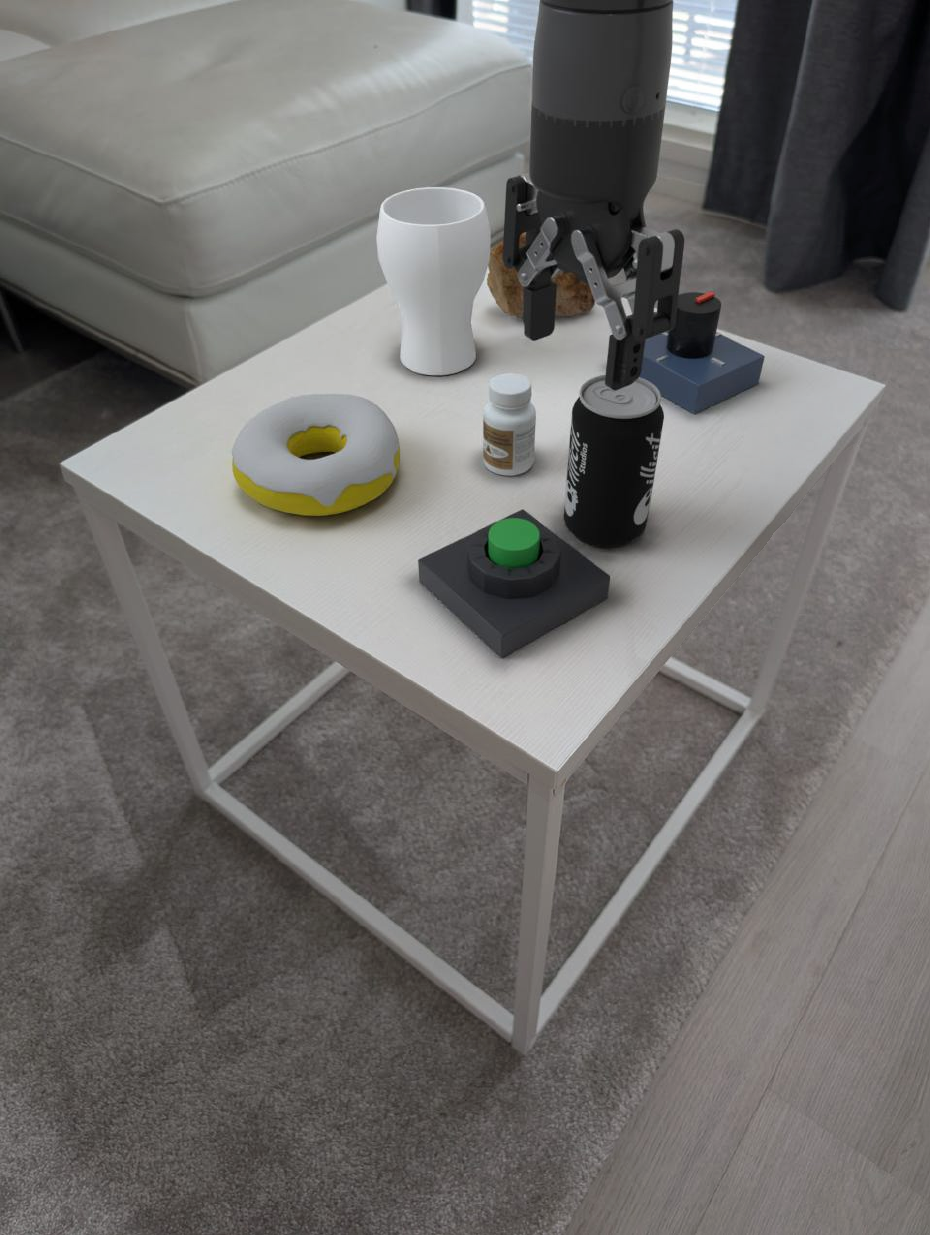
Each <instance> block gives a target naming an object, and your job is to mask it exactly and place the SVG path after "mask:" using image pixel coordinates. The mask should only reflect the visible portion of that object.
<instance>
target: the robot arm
mask: <svg viewBox="0 0 930 1235" xmlns="http://www.w3.org/2000/svg"><path fill="white" fill-rule="evenodd" d="M674 3H675V2H674V0H539V1H538V14H537V23H536V27H535V33H534V42H533V50H532V53H533V54H532V74H531V78H532V79H531V104H530V107H531V108H530V109H531V110H530V139H529V161H528V162H529V163H528V165H529V167H528V172H527V173H523V174H519V175H517V176H514V177H509V178H508V179H507V181H506V183H505V200H504V201H505V202H504V217H503V219H504V220H503V239H502V241H503V263H504V265H505V267H506V268H508V269H511V268H515V269H516V271H517V272H518V278H519V281H520V283H521V285H522V286H524V302H523V305H524V306H523V311H524V312H523V317H522V321H523V326H524V331H523V332H524V336H525V337H526V338H527V339H529V340H530V341H532V342H536V341H539V340H542V339H544V338H547V337H550V336H551V335H552V334H553V333H554V331H555V329H556V316H555V312H556V295H557V283H555V282H553V281H552V280H551V278H553V277H555V276H556V275H557V273H558V272H559V271H560V270H562V271H564V272H569V273H574V274H575V275H576V276H577V277H578V278H579V279H580V280H581V281H583V282H585V283H587V284H589V286H590V289H591V292H592V295H593V298H594V300H595V304H596V305H598V306H600V307H602V308H603V310H604V312H605V315H606V319H607V321H608V325H609V328H610V331H611V333H612V334H610V335H609V338H608V347H607V358H606V368H605V375H606V376H605V385H606V386H607V387H609V388H611V389H612V390H614V391H616V390H619V389H621V388H624V387H626V386H629V385H631V384H633V383H634V382H635V380H637V379H638V378H639V376H640V375H641V371H642V363H643V360H642V359H643V356H644V348H645V341H646V339H649V338H651V337H654V336H657V335H659V334H662V333H664V332H667V331H670V330H672V329H673V328H674V327H675V324H676V315H677V306H678V297H679V295H680V288H681V286H680V285H681V279H682V278H681V276H682V270H683V269H682V267H683V259H684V250H685V237H684V233H683V232H682V231H681V230H680V229H679V228H673V229H671V230H668V231H665V232H660V231H658V230H655V229H651V228H648V227H647V223H646V219H645V212H644V204H645V201H646V198H647V196H648V194H649V193H650V191H651V190H652V188H653V186H654V185H655V182H656V181H657V177H658V170H659V169H658V168H659V162H660V152H661V145H662V136H663V129H664V121H665V114H666V113H665V112H666V105H667V97H668V89H669V81H670V72H671V65H672V64H671V63H672V54H673V36H674V35H673V29H674V28H673V18H674V17H673V16H674V15H673V14H674ZM525 232H526V241H525V245H524V246H520V247H519V244H520V236H521V235H522V234H523V233H525ZM622 270H623V273H624V275H625V281H623V282H621V283H617V284H613V283H611V282H610V281H609V279H612V278H615V277H616V276H617V275H618V274H620V272H621V271H622ZM622 298H625V299H626V300H627V302H628V306H629V309H630V311H631V314H629V315H627V314H626V311H625V308H624V304H623V302H622ZM656 302H657V304H656ZM655 306H656V311H655Z"/></svg>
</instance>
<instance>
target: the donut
mask: <svg viewBox="0 0 930 1235" xmlns="http://www.w3.org/2000/svg"><path fill="white" fill-rule="evenodd" d="M316 453H332V454H329V455H326V456H323V457H320V458H316V459H304V458H301V457H303V456H306V455H311V454H316ZM231 455H232V461H231V466H232V473H233V477H234V479H235V481H236V483H237V485H238V486H239V488H240V489H241V490H242V491H243V492H244V493H245V494H246V495H247V496H248V497H250V498H251V499H253V500H255V501H256V502H257V503H259V504H261V505H263V506H264V507H266V508H269V509H272V510H276V511H280V512H283V513H286V514H293V515H299V516H309V517H310V516H311V517H320V516H321V517H323V516H324V517H325V516H331V515H333V516H334V515H337V514H342V513H345V512H349V511H352V510H354V509H357V508H359V507H361V506H364V505H366V504H368V503H370V502H371V501H373V500H376V499H377V498H378V497H379V496H381V495H382V494H383V493H384V492H385V491H386V490H388V488H389V487H390V486H391V485H392V483H393V482H394V480H395V477H396V476H397V473H398V471H399V466H400V462H401V446H400V439H399V436H398V433H397V430H396V427H395V425H394V424H393V422H392V421H391V419H390V418H389V416H388V415H387V413H386V412H385V411H384V410H383V409H382V407H380V406H379V405H378V404H376V403H374V402H373V401H371V400H370V399H367V398H364V397H362V396H357V395H353V394H352V395H351V394H342V393H315V394H314V393H313V394H305V395H298V396H294V397H290V398H287V399H285V400H282V401H279V402H277V403H274V404H273V405H271V406H269V407H267V408H265V409H263V410H261V411H259V412H258V413H256V414H255V415H254V416H253V417H252V418H250V419H249V420H248V421H247V422H246V423H245V425H243V427H242V429H241V430H240V431H239V433H238V435H237V437H236V438H235V441H234V443H233V446H232V448H231Z"/></svg>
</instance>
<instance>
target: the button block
mask: <svg viewBox="0 0 930 1235" xmlns="http://www.w3.org/2000/svg"><path fill="white" fill-rule="evenodd" d="M509 518H518V519H524V520H527V521H529V522H531V523H533V524H534V525H535V526H536V527H537V528H538V530H539V532H540V542H539V555H538V558H537V560H536V561H535V562H534V563H533V564H531V565H529V566H527V567H522V568H511V569H510V568H507V567H503V566H499V565H497V564H495V563H494V562H493V561H492V560H491V558H490V557H489V552H488V550H489V530H490V528H491V527H492V526H493V525H494V524H495V523H497V522H498V521H501V520H504V519H509ZM417 566H418V580H419V583H420V584H421V585H423V587H425V588H426V590H428V591H429V592H430V593H431V594H432V595H434V597H435V598H436V599H438V601H440V603H442V604H443V605H444V606H445V607H446V608H447V609H448V610H449V611H451V613H452V614H453V615H454V616H456V618H458V619H459V620H460V621H461V622H462V623H463V624H464V625H465V626H467V627H468V628H469V629H470V630H471V631H472V633H474V634H475V635H476V636H477V637H478V638H479V639H480V640H481V641H482V642H483V643H485V644H486V645H487V647H489V648H490V649H491V650H492V651H493V652H494V653H495V654H496V655H497V656H498V657H500V658H504V657H506V656H508V655H509V654H511V653H514V652H515V651H517V650H519V649H520V648H522V647H524V646H526V645H527V644H529V643H531V642H533V641H535V640H536V639H538V638H540V637H542V636H543V635H545V634H547V633H549V632H550V631H552V630H554V629H556V628H557V627H559V626H561V625H563V624H564V623H567V622H568V621H569V620H572V619H573V618H575V617H577V616H579V615H581V614H583V613H584V612H586V611H588V610H589V609H591V608H593V607H594V606H596V605H598V604H600V603H602V602H603V601H605V600H607V599H608V598H609V593H610V592H609V591H610V584H611V575H610V574H608V573H607V572H606V571H604V570H603V569H602V568H600V567H599V566H598V565H597V564H595V563H594V562H592V561H591V560H590V559H589V558H587V557H586V556H585V555H584V554H582V553H581V552H579V551H578V550H577V549H576V548H575V547H573V546H572V545H571V544H569V543H568V542H566V541H565V540H564V539H563V538H561V537H560V536H559V535H558V534H556V533H555V532H554V531H552V530H551V529H550V528H548V527H547V526H546V525H544V523H542V522H540V521H539V520H538V519H537V518H535V517H534V516H533V515H531V514H530V513H529V512H527V511H526V510H525V509H523V508H522V509H520V510H518V511H516V512H514V513H512V514H509V515H508V516H505V517H504V518H501V519H499V520H497V521H494V522H491V523H489V524H488V525H486V526H484V527H482V528H480V529H478V530H476V531H474V532H472V533H470V534H468V535H466V536H464V537H462V538H460V539H458V540H456V541H453V542H452V543H450V544H447V545H445V546H443V547H441V548H439V549H436V550H435V551H433V552H430V553H428V554H427V555H425V556H422V557H421V558H419V559H418V560H417Z"/></svg>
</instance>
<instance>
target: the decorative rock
mask: <svg viewBox="0 0 930 1235" xmlns="http://www.w3.org/2000/svg"><path fill="white" fill-rule="evenodd" d="M525 241H526V232H525V233H523V234H522V235H521V236H520V244H519V247H520V246H524V245H525ZM487 269H488V273H487V278H486V285H487V287H488V289H489V291H490V294H491V296H492V297H493V299H494V300H495V304H496V305H497V306H498V307H499V308H500V309H501V311H502V312H503V313H505V314H507V315H509V316H515V317H519V318H523V312H524V311H523V306H524V305H523V302H524V286H522V285H521V283H520V281H519V278H518V272H517V271H516V269H515V268H511V269H508V268H506V267H505V265H504V263H503V240H502V241H500V242H499V243H498V244H497V245H496V246H494V248H492V250H490V261H489V264H488V268H487ZM551 280H552V281H553V282H555V283H557V295H556V312H555V317H556V316H558V317H573V316H574V317H575V316H580V315H586V314H588V313H589V312H590V311H591V310H592V309H593V308H594V306H595V304H596V302H595V300H594V298H593V295H592V292H591V289H590V286H589V284H587V283H585V282H583V281H581V280H580V279H579V278H578V277H577V276H576V275H575V274H574V273H569V272H564V271H562V270H560V271H559V272H558V273H557V275H556V276H555V277H553V278H551Z"/></svg>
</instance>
